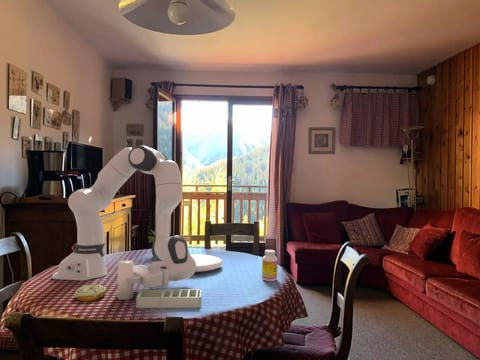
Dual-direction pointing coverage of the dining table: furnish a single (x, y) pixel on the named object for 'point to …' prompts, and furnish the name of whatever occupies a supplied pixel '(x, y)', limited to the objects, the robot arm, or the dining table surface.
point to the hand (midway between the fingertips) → (123, 278)
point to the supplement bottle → (269, 266)
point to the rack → (169, 298)
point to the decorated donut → (90, 292)
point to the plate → (206, 262)
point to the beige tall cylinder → (123, 273)
